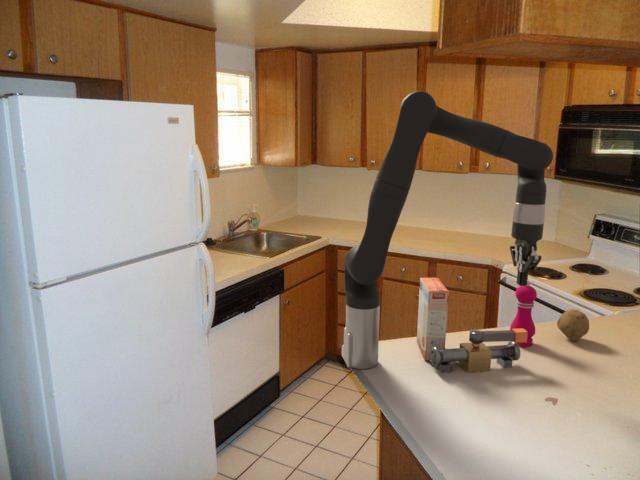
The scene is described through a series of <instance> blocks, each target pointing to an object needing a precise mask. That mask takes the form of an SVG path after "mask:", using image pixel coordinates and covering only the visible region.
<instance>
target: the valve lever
mask: <svg viewBox="0 0 640 480" xmlns="http://www.w3.org/2000/svg"><path fill="white" fill-rule="evenodd" d="M527 335H528V332H527V331H526V330H525V329H523V328H519V329H512V330H510V329H509V330H508V329H507V330H505V329H504V330H478V329H471V330H470V331H469V338H468V341H469V343H471V342H472V343H490V342H491V343H492V342H493V343H494V342H495V343H496V342H499V343H500V342H511V341H514V342H515V343H521V342H527Z"/></svg>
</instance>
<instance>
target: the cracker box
mask: <svg viewBox="0 0 640 480" xmlns="http://www.w3.org/2000/svg"><path fill="white" fill-rule="evenodd" d="M418 291H419V294H418V312H417V315H418V316H417V329H416V331H417V332H416V343H417V345H418V348H419V350H420V352H421V354H422V356H423V359H424V361H431V359H430V350H431V348H432V347H438V349H439V350H440V349H446V340H447V339H446V338H447V325H448V323H447V322H448V310H449V297H450V296H449V295H450V294H449V293H450V291H449V290H448V289H447V287H446V286H445V285H444V284H443V283H442V281H441V279H440V278H439V277H420V278H419V290H418Z"/></svg>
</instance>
